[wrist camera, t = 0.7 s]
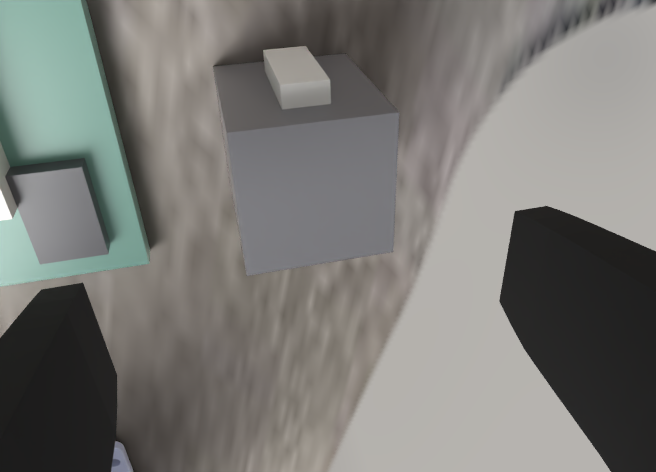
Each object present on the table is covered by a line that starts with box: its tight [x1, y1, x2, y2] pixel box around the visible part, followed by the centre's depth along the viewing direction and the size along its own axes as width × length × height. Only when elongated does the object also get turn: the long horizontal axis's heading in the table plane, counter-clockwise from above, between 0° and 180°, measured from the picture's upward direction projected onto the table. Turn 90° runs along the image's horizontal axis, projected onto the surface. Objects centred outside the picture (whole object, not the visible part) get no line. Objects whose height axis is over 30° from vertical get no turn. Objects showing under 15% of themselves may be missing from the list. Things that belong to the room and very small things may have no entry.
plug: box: [213, 46, 399, 276], centre depth 16 cm, size 5×4×5 cm
